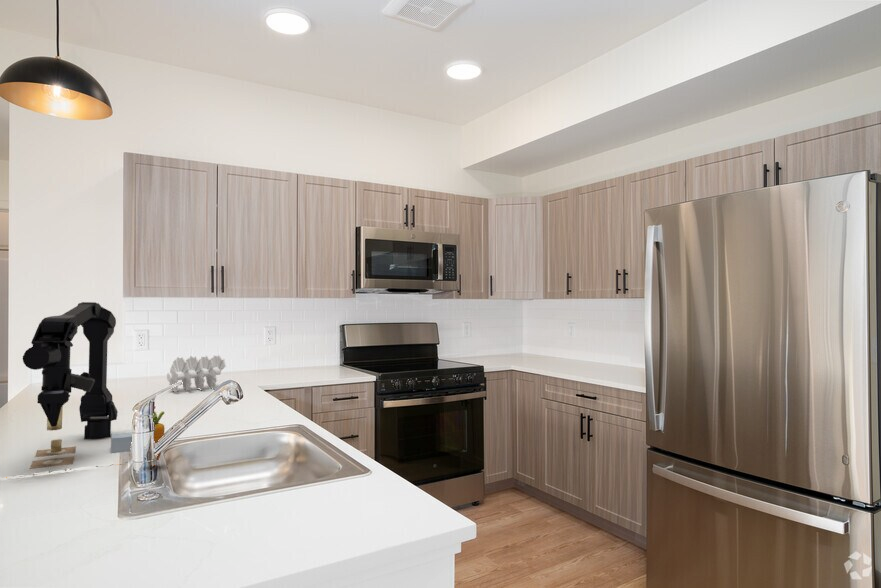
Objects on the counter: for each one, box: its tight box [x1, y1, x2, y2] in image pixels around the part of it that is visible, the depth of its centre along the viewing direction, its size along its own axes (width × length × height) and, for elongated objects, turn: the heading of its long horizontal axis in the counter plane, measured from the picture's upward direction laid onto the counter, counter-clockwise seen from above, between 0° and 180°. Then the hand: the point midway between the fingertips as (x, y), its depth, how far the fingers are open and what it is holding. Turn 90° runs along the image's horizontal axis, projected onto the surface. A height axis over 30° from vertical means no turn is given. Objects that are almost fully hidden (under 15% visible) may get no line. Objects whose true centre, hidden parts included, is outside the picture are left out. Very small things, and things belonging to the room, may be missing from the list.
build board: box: [29, 455, 75, 470], centre depth 138 cm, size 9×8×1 cm
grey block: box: [110, 431, 133, 454], centre depth 151 cm, size 6×6×5 cm
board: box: [34, 439, 77, 458], centre depth 148 cm, size 9×8×4 cm
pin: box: [46, 405, 64, 431], centre depth 138 cm, size 3×3×6 cm
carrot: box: [153, 411, 166, 461], centre depth 138 cm, size 5×5×15 cm
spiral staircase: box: [166, 354, 227, 393], centre depth 264 cm, size 18×18×25 cm
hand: (54, 425), depth 138 cm, fingers closed on pin, 3 cm apart
